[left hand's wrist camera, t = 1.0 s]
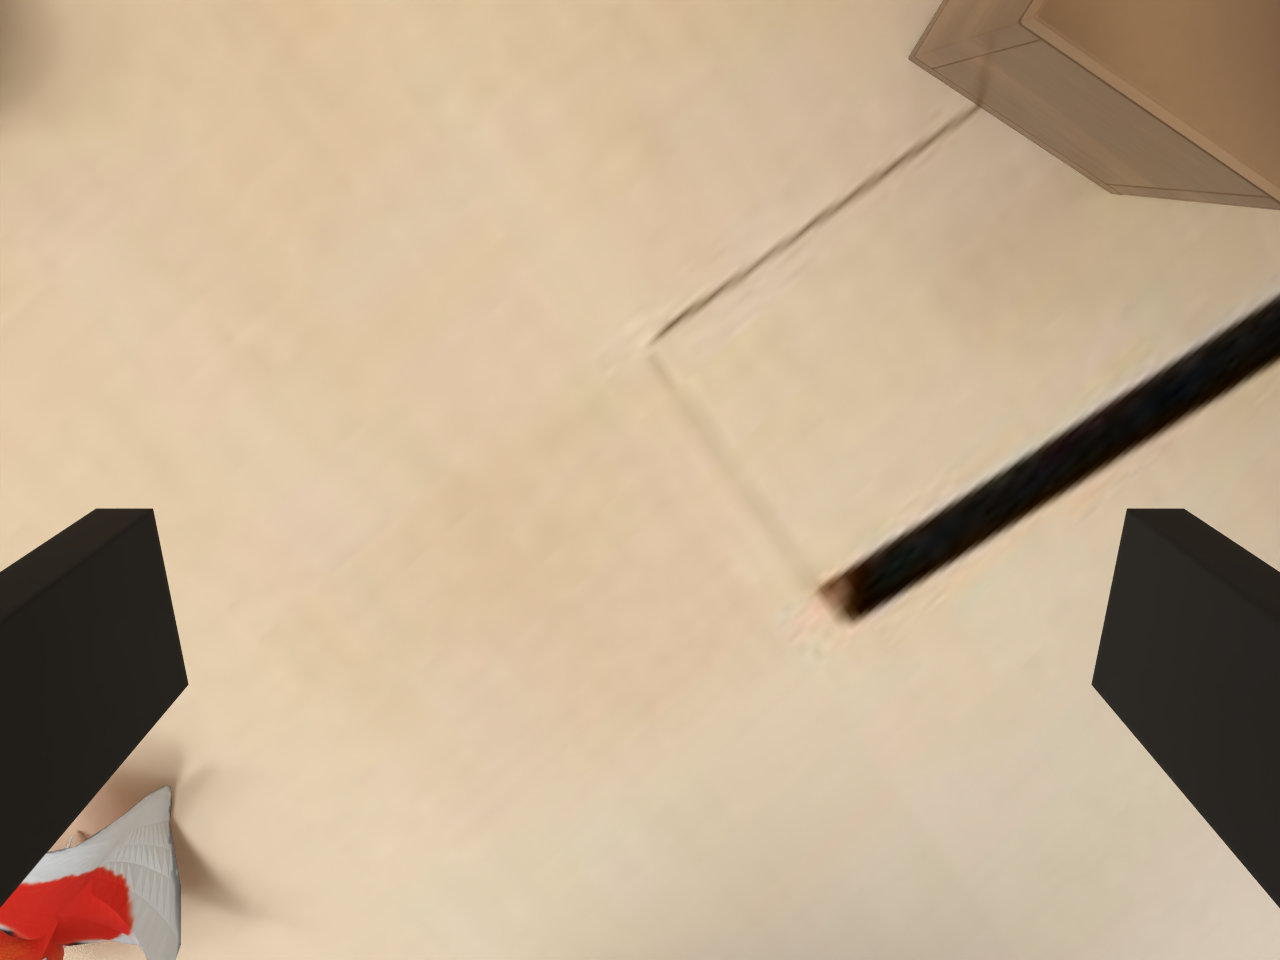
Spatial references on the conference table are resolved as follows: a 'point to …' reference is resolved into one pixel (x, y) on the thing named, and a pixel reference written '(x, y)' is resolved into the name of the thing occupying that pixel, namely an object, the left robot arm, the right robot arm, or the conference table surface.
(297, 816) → the conference table surface
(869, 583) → the conference table surface
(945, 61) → the chest
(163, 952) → the fish
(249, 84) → the conference table surface
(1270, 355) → the conference table surface
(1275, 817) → the left robot arm
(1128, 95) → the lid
